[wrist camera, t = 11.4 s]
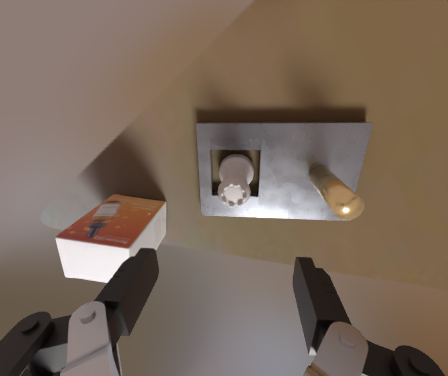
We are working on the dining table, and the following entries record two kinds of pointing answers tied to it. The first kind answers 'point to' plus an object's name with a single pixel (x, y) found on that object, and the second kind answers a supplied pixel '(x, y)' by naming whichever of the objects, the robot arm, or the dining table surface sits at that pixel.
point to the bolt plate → (289, 168)
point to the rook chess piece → (235, 180)
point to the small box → (111, 236)
